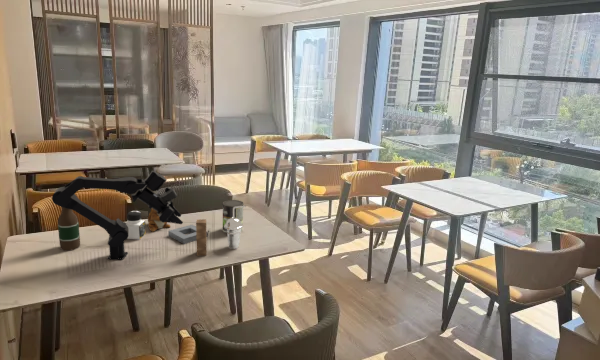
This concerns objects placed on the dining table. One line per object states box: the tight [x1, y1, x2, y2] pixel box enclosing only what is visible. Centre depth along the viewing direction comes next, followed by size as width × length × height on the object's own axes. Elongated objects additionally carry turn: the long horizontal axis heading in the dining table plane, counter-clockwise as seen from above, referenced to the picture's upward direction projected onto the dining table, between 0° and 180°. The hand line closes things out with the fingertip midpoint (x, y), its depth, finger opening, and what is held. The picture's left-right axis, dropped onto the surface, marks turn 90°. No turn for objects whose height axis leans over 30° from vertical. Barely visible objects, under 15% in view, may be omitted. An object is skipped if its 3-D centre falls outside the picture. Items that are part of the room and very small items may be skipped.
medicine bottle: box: [125, 210, 146, 241], centre depth 197 cm, size 7×7×12 cm
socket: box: [168, 224, 209, 245], centre depth 201 cm, size 13×13×2 cm
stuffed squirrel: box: [147, 208, 171, 233], centre depth 210 cm, size 10×14×13 cm
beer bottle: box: [57, 207, 81, 251], centre depth 181 cm, size 8×8×24 cm
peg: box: [195, 218, 208, 257], centre depth 182 cm, size 4×4×15 cm
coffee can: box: [221, 199, 245, 234], centre depth 210 cm, size 10×10×14 cm
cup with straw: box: [224, 205, 246, 250], centre depth 189 cm, size 8×9×20 cm
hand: (181, 219), depth 182 cm, fingers open, 9 cm apart
